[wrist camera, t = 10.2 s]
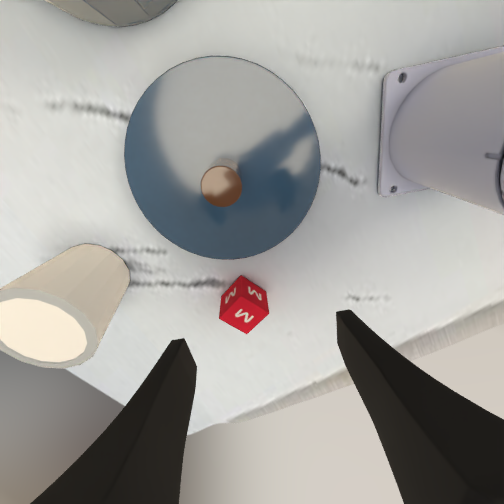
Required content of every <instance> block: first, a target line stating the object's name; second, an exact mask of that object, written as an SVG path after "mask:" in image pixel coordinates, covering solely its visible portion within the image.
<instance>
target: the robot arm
mask: <svg viewBox="0 0 504 504" xmlns="http://www.w3.org/2000/svg"><path fill="white" fill-rule="evenodd" d="M400 74H402V75H403V80H402V82H401V83H400V82H399V81H398V78H399V75H400ZM393 186H394V190H393V191H391V192H390V189H391V187H393ZM430 188H432V189H434V190H437V191H440V192H442V193H445V194H448V195H451V196H453V197H456V198H459V199H462V200H464V201H467V202H470V203H473V204H475V205H478V206H481V207H483V208H486V209H489V210H492V211H494V212H497V213H500V214H503V215H504V46H500V47H496V48H491V49H487V50H482V51H478V52H473V53H469V54H464V55H460V56H455V57H451V58H446V59H442V60H437V61H432V62H428V63H423V64H419V65H414V66H410V67H405V68H401V69H396V70H393V71H390V72H388V73H387V74H386V76H385V78H384V81H383V99H382V119H381V139H380V159H379V180H378V193H379V195H381V196H383V197H389V196H394V195H399V194H404V193H409V192H415V191H420V190H425V189H430ZM336 319H337V343H338V346H339V349H340V352H341V354H342V357H343V360H344V363H345V365H346V367H347V369H348V371H349V373H350V376H351V378H352V380H353V382H354V384H355V386H356V388H357V390H358V392H359V394H360V396H361V398H362V400H363V402H364V404H365V406H366V408H367V410H368V412H369V414H370V416H371V419H372V421H373V423H374V425H375V428H376V430H377V433H378V436H379V438H380V441H381V443H382V446H383V448H384V451H385V453H386V456H387V458H388V461H389V464H390V467H391V469H392V472H393V475H394V477H395V480H396V482H397V485H398V488H399V491H400V494H401V496H402V499H403V502H404V504H504V420H503V419H502V418H500V417H498V416H496V415H494V414H492V413H490V412H489V411H487V410H485V409H483V408H482V407H480V406H478V405H476V404H475V403H473V402H471V401H470V400H468V399H466V398H464V397H463V396H461V395H459V394H458V393H456V392H454V391H453V390H451V389H450V388H448V387H447V386H445V385H443V384H442V383H440V382H439V381H437V380H436V379H434V378H433V377H431V376H430V375H428V374H427V373H425V372H424V371H423V370H421V369H420V368H418V367H417V366H416V365H414V364H413V363H412V362H410V361H409V360H408V359H406V358H405V357H404V356H402V355H401V354H400V353H399V352H397V351H396V350H395V349H394V348H392V347H391V346H390V345H389V344H388V343H386V342H385V341H384V340H383V339H382V338H380V337H379V336H378V335H377V334H376V333H375V332H374V331H372V330H371V329H370V328H369V327H368V326H367V325H366V324H365V323H364V322H363V321H362V320H361V319H360V318H358V317H357V316H356V315H355V314H354V313H353V312H352V311H351V310H344V311H338V312H336ZM196 373H197V366H196V363H195V361H194V359H193V357H192V354H191V352H190V350H189V348H188V346H187V343H186V341H185V339H184V338H183V339H177V340H172V341H171V342H170V344H169V345H168V347H167V348H166V350H165V351H164V353H163V354H162V356H161V357H160V359H159V360H158V362H157V363H156V365H155V366H154V367H153V369H152V370H151V372H150V373H149V375H148V376H147V378H146V379H145V380H144V382H143V383H142V385H141V386H140V387H139V389H138V390H137V391H136V393H135V394H134V395H133V397H132V398H131V399H130V401H129V402H128V403H127V405H126V406H125V407H124V408H123V410H122V411H121V412H120V413H119V415H118V416H117V417H116V418H115V419H114V420H113V422H112V423H111V424H110V425H109V426H108V427H107V429H106V430H105V431H104V432H103V433H102V434H101V435H100V436H99V437H98V438H97V440H96V441H95V442H94V443H93V444H92V445H91V446H90V447H89V448H88V449H87V450H86V451H85V452H84V453H83V455H81V457H79V459H77V461H76V462H74V463H73V464H72V465H71V466H70V467H69V468H68V469H67V470H66V471H65V472H64V473H63V474H62V475H61V476H60V477H59V478H58V479H57V480H56V481H55V482H54V483H53V484H52V485H50V486H49V487H48V488H47V489H46V490H45V491H44V492H43V493H42V494H41V495H40V496H38V497H37V498H36V499H35V500H34V501H33V502H32V503H30V504H179V494H180V482H181V473H182V463H183V454H184V448H185V441H186V436H187V431H188V426H189V420H190V415H191V410H192V405H193V399H194V394H195V387H196Z"/></svg>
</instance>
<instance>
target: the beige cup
mask: <svg viewBox="0 0 504 504" xmlns="http://www.w3.org/2000/svg"><path fill="white" fill-rule="evenodd" d="M129 282H130V275H129V270H128V268H127V266H126V265H125V263H124V261H123V260H122V259H121V258H120V257H119V256H117V255H116V254H115V253H114V252H113V251H111V250H109V249H106V248H104V247H102V246H99V245H91V244H82V245H78V246H74V247H72V248H70V249H68V250H66V251H65V252H63V253H61V254H59V255H58V256H56V257H54V258H52V259H51V260H49V261H47V262H45V263H44V264H42V265H40V266H38V267H37V268H35V269H33V270H31V271H30V272H28V273H26V274H24V275H23V276H21V277H19V278H17V279H16V280H14V281H12V282H10V283H9V284H7V285H5V286H3V287H2V288H0V350H1V351H3V352H5V353H7V354H9V355H10V356H12V357H14V358H16V359H18V360H20V361H22V362H26V363H29V364H33V365H36V366H40V367H46V368H68V367H72V366H77V365H81V364H82V363H84V362H85V361H87V360H88V359H90V358H91V357H93V355H94V353H95V351H96V349H97V347H98V345H99V343H100V341H101V339H102V337H103V335H104V333H105V331H106V329H107V327H108V325H109V323H110V321H111V319H112V317H113V315H114V313H115V311H116V309H117V307H118V305H119V303H120V301H121V299H122V297H123V295H124V293H125V291H126V289H127V287H128V285H129Z"/></svg>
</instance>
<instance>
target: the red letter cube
mask: <svg viewBox="0 0 504 504" xmlns="http://www.w3.org/2000/svg"><path fill="white" fill-rule="evenodd" d="M268 314H269V308H268V302H267V295H266V291H264V290H263V289H261V288H260V287H258V286H257V285H255V284H254V283H252V282H251V281H249V280H248V279H246V278H245V277H243V276H240V277H239V278H238V279H237V280H236V281H235V282H234V283H233V284H232V285H231V286H230V288H229V289H228V290H227V291H226V292H225V293H224V294H223V295H222V296H221V305H220V314H219V319H221V320H222V321H224V322H226V323H228V324H229V325H231V326H233V327H235V328H237V329H238V330H240V331H242V332H244V333H246V334H248V333H249V332H250V331H251V330H252V329H253V328H254V327H255V326H256V325H257V324H258V323H259V322H261V321H262V320H263V319H264V318H265V317H266V316H267V315H268Z"/></svg>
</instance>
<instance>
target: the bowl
mask: <svg viewBox="0 0 504 504" xmlns="http://www.w3.org/2000/svg"><path fill="white" fill-rule="evenodd" d="M45 1H47V2H48V3H50V4H52V5H54V6H56V7H58V8H60V9H61V10H63V11H65V12H67V13H69V14H71V15H73V16H74V17H76V18H78V19H81V20H84V21H88V22H91V23H94V24H99V25H104V26H114V27H125V26H131V25H137V24H140V23H143V22H146V21H149V20H151V19H153V18H155V17H157V16H159V15H160V14H162V13H163V12H165V11H166V10H167V9H168V8H170V7H171V6H172V5H173V4H174V3H175V2H176V1H177V0H45Z"/></svg>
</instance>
